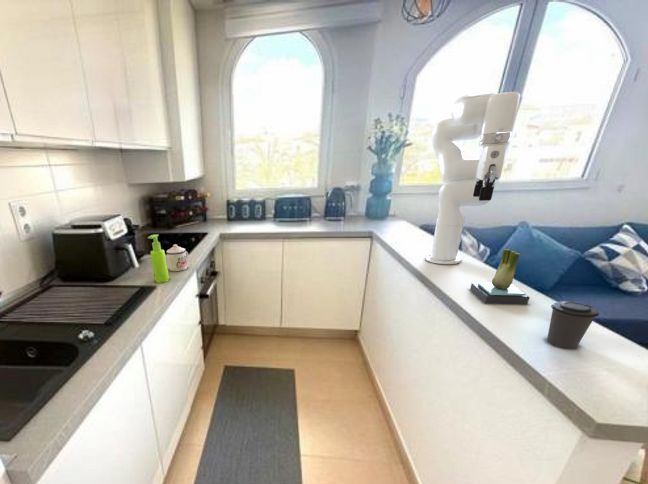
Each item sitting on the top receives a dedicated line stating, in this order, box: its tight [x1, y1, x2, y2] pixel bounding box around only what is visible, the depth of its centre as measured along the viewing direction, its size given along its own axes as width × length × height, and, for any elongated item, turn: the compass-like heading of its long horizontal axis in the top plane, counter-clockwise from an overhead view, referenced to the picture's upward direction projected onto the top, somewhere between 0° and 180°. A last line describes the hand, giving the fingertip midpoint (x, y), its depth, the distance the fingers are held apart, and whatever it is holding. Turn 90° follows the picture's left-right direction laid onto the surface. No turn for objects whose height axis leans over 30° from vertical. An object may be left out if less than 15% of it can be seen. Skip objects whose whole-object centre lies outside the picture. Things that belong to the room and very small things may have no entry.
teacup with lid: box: [165, 243, 189, 272], centre depth 163 cm, size 12×9×12 cm
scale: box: [469, 281, 530, 306], centre depth 108 cm, size 12×11×3 cm
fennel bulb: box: [491, 248, 520, 289], centre depth 104 cm, size 6×5×12 cm
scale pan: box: [477, 282, 527, 296], centre depth 107 cm, size 10×9×1 cm
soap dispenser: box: [147, 234, 170, 284], centre depth 146 cm, size 6×7×20 cm
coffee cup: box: [546, 301, 600, 350], centre depth 80 cm, size 8×8×10 cm
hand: (481, 198), depth 112 cm, fingers open, 9 cm apart
